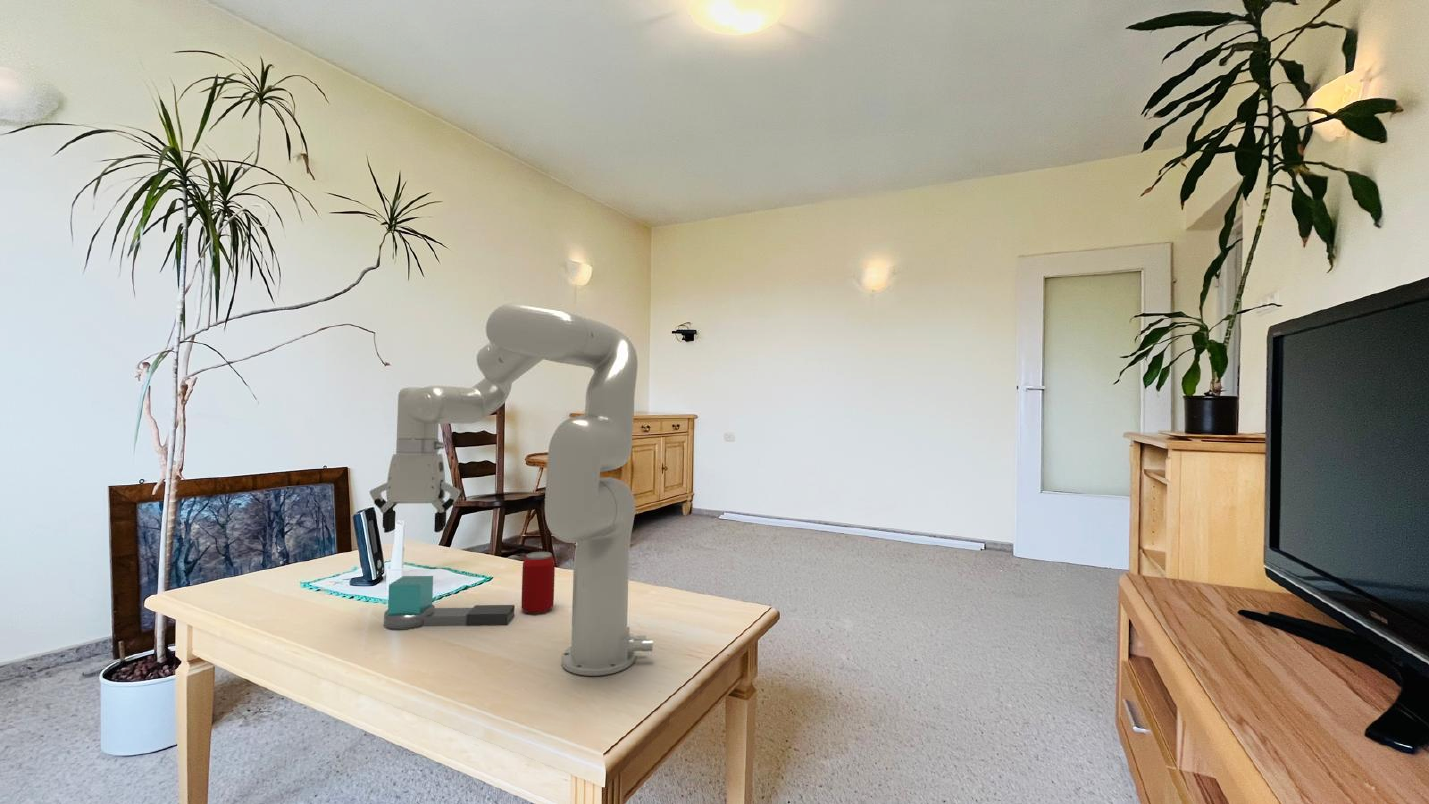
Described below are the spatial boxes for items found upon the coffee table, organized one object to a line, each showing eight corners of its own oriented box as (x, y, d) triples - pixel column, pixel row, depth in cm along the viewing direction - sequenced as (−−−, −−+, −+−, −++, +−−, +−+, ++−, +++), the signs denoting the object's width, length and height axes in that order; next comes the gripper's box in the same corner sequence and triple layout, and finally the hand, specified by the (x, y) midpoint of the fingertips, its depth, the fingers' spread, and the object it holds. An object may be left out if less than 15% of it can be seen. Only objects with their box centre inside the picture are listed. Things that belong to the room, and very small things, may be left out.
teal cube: (432, 604, 114) (433, 575, 115) (419, 615, 108) (420, 584, 109) (402, 605, 114) (403, 576, 114) (387, 615, 108) (388, 584, 108)
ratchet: (516, 613, 117) (517, 582, 118) (504, 629, 109) (505, 596, 109) (396, 615, 115) (398, 583, 115) (374, 631, 106) (375, 597, 106)
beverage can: (558, 605, 122) (559, 551, 123) (546, 616, 116) (547, 559, 116) (529, 604, 123) (531, 550, 123) (515, 614, 116) (517, 557, 117)
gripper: (467, 447, 117) (464, 527, 116) (382, 446, 115) (378, 527, 115) (454, 449, 109) (451, 534, 109) (363, 448, 108) (359, 535, 107)
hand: (414, 531), depth 112 cm, fingers open, 9 cm apart
